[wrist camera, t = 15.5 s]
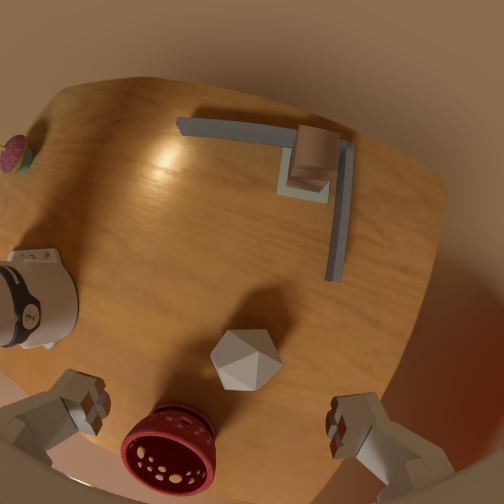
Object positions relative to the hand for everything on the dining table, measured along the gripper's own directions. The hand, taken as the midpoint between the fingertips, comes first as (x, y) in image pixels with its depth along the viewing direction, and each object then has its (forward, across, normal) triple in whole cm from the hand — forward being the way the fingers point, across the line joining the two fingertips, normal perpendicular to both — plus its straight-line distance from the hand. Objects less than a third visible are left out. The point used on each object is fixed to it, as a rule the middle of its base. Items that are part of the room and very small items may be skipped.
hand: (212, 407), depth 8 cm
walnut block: (+34, -8, -9) cm, 37 cm away
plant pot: (+23, +9, +31) cm, 39 cm away
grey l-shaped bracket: (+34, -1, -5) cm, 34 cm away
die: (+27, -1, +16) cm, 32 cm away
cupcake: (+38, +48, -14) cm, 62 cm away
